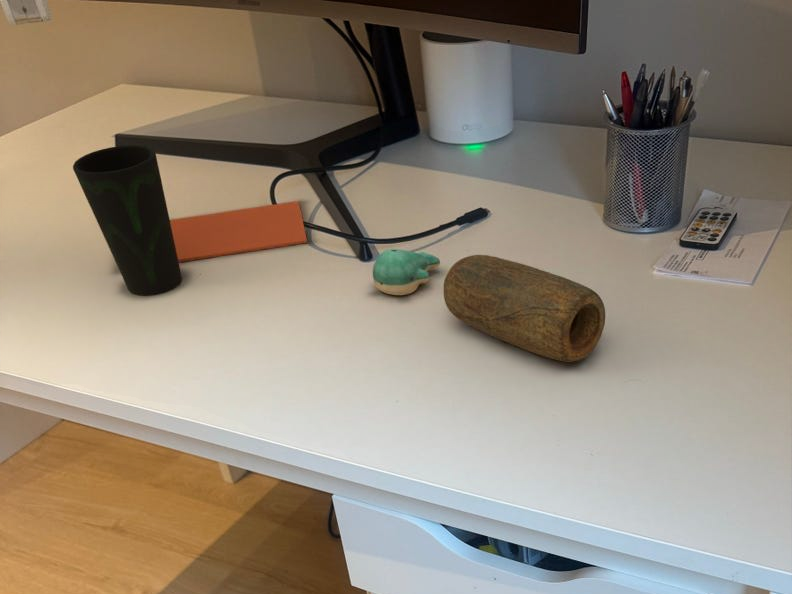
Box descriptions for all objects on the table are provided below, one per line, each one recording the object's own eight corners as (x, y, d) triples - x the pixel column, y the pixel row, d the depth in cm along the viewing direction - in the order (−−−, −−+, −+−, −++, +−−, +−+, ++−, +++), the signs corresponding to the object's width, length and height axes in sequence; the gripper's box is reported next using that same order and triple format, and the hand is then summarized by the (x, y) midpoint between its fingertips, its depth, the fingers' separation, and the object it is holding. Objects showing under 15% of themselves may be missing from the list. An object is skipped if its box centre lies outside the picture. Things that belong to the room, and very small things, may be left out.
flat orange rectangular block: (121, 271, 96) (120, 268, 96) (127, 228, 105) (126, 226, 104) (307, 242, 98) (306, 240, 98) (299, 203, 107) (298, 200, 106)
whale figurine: (361, 290, 89) (355, 251, 87) (413, 263, 93) (408, 225, 90) (403, 305, 86) (398, 266, 84) (454, 277, 90) (451, 238, 87)
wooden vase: (615, 348, 78) (619, 271, 73) (565, 382, 75) (566, 304, 70) (486, 303, 85) (481, 231, 81) (435, 332, 82) (427, 259, 77)
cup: (146, 264, 97) (106, 142, 89) (206, 271, 95) (171, 147, 86) (102, 296, 92) (55, 170, 84) (164, 303, 90) (122, 176, 81)
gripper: (108, -251, 61) (172, -4, 71) (-211, -221, 59) (-99, 29, 69) (101, -250, 57) (170, 13, 66) (-244, -217, 54) (-119, 49, 64)
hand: (31, 21), depth 68 cm, fingers closed
